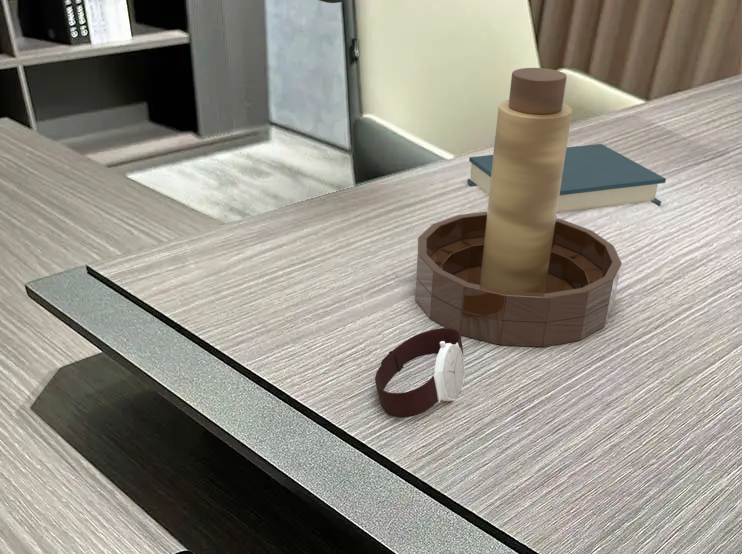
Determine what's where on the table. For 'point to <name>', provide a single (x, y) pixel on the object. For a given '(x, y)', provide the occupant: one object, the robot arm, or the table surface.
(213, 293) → the table surface
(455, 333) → the watch
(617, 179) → the book
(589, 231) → the bowl
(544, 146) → the pepper mill
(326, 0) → the robot arm
